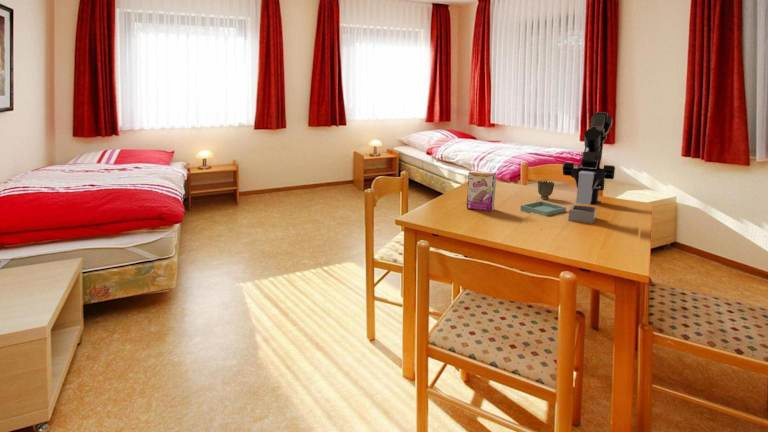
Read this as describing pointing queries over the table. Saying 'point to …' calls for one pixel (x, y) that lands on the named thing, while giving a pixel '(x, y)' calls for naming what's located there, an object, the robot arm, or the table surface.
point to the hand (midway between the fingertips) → (584, 188)
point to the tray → (542, 208)
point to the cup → (545, 189)
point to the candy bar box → (481, 190)
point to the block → (585, 187)
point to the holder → (582, 214)
